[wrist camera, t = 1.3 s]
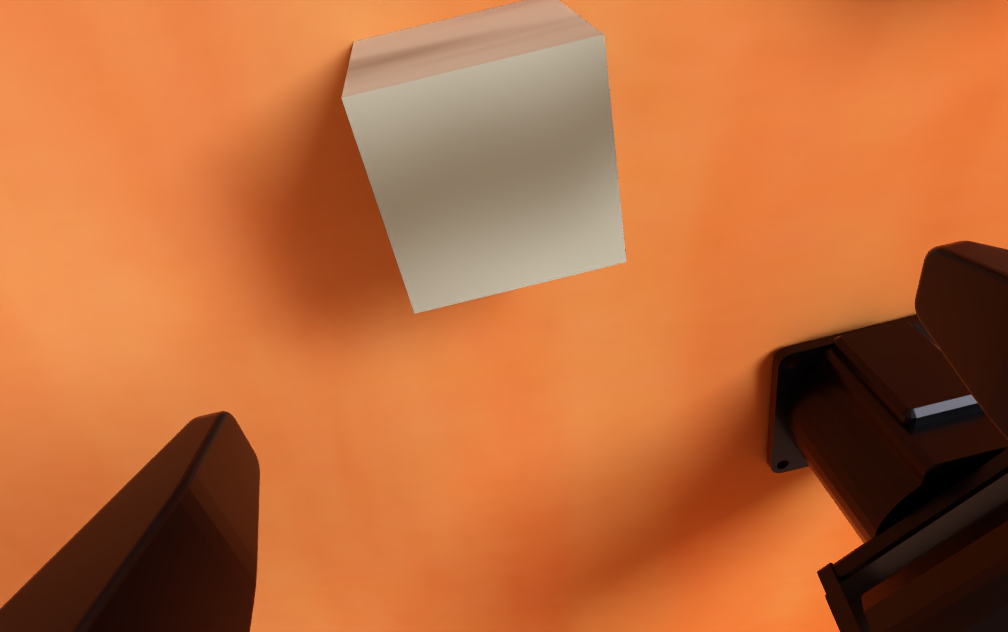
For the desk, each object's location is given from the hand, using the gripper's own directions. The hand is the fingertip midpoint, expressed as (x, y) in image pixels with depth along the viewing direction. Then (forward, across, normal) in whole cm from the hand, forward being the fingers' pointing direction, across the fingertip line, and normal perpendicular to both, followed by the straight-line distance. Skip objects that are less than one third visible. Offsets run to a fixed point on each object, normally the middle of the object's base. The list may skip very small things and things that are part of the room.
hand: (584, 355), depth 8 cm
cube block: (+11, 0, 0) cm, 11 cm away
